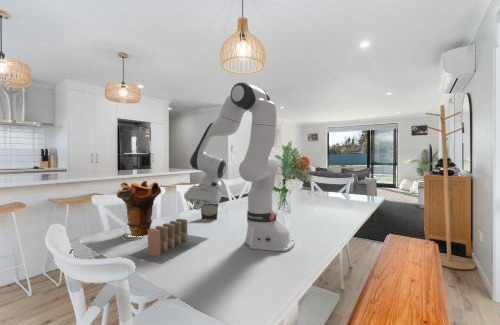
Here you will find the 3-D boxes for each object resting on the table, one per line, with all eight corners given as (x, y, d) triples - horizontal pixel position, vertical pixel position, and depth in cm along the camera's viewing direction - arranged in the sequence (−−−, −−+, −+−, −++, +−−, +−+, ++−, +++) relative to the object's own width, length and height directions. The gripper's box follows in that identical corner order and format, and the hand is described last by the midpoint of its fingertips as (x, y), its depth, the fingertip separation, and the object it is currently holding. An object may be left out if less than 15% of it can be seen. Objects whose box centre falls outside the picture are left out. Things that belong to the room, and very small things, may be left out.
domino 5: (179, 239, 112) (178, 218, 112) (187, 241, 110) (187, 219, 110) (176, 241, 111) (176, 219, 111) (185, 242, 109) (184, 220, 108)
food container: (221, 216, 156) (220, 201, 155) (219, 219, 150) (218, 203, 149) (202, 216, 157) (202, 201, 157) (199, 219, 151) (199, 203, 150)
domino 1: (151, 252, 98) (150, 228, 98) (160, 254, 96) (160, 229, 96) (148, 254, 97) (147, 229, 96) (157, 256, 94) (156, 231, 94)
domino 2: (159, 249, 102) (158, 225, 101) (168, 251, 100) (167, 227, 99) (156, 250, 100) (155, 226, 100) (165, 252, 98) (164, 228, 98)
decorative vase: (147, 224, 140) (147, 175, 138) (170, 234, 125) (170, 180, 123) (108, 233, 124) (107, 179, 122) (129, 246, 109) (128, 185, 107)
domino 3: (166, 245, 105) (165, 223, 105) (175, 247, 103) (174, 224, 103) (163, 247, 104) (162, 224, 103) (172, 249, 102) (171, 225, 101)
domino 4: (172, 242, 109) (172, 220, 109) (181, 244, 107) (181, 221, 106) (170, 244, 107) (169, 221, 107) (179, 245, 105) (178, 222, 105)
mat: (208, 240, 114) (208, 238, 114) (161, 266, 88) (161, 264, 88) (179, 234, 122) (179, 233, 122) (127, 257, 96) (127, 255, 96)
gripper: (189, 181, 131) (176, 203, 122) (221, 184, 122) (209, 207, 113) (194, 188, 135) (182, 210, 127) (225, 191, 126) (215, 214, 118)
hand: (195, 208), depth 120 cm, fingers closed
